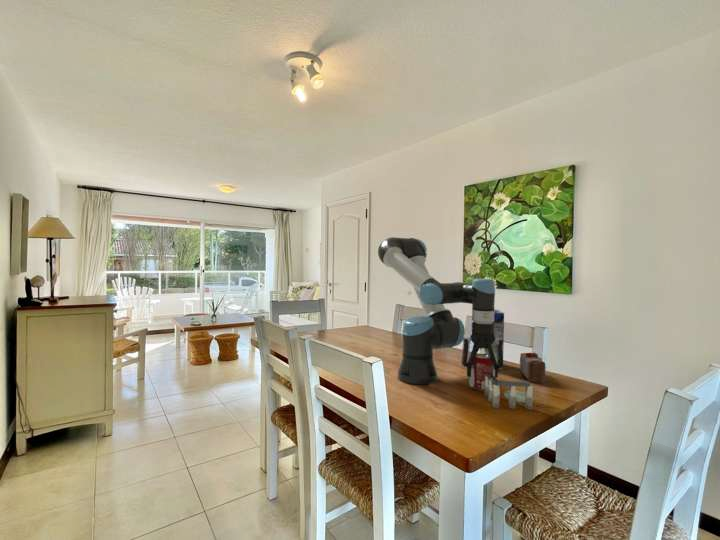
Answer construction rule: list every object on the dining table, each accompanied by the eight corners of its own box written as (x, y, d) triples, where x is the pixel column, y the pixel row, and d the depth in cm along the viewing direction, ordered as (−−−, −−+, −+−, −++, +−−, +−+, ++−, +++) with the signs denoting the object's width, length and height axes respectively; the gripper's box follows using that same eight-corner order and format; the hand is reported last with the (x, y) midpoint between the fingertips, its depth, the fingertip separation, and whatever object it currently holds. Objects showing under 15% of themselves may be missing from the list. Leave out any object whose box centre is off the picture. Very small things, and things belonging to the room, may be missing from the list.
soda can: (494, 392, 124) (495, 358, 124) (475, 392, 124) (475, 357, 124) (488, 385, 131) (488, 353, 131) (469, 385, 131) (470, 352, 131)
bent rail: (493, 408, 111) (494, 381, 111) (483, 394, 122) (484, 371, 122) (533, 409, 110) (533, 383, 110) (519, 396, 121) (520, 372, 121)
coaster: (509, 402, 115) (509, 400, 115) (500, 392, 124) (500, 390, 124) (537, 403, 115) (538, 401, 115) (526, 393, 124) (526, 390, 124)
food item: (517, 371, 149) (517, 347, 149) (537, 372, 148) (538, 349, 147) (526, 382, 136) (527, 356, 135) (549, 383, 134) (549, 357, 134)
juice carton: (479, 361, 163) (480, 309, 162) (496, 362, 162) (497, 309, 161) (484, 369, 151) (485, 312, 151) (503, 370, 150) (504, 313, 149)
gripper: (457, 323, 124) (456, 388, 125) (515, 324, 123) (513, 390, 123) (453, 319, 132) (452, 381, 132) (507, 320, 130) (506, 383, 131)
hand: (481, 385), depth 128 cm, fingers closed on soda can, 7 cm apart
